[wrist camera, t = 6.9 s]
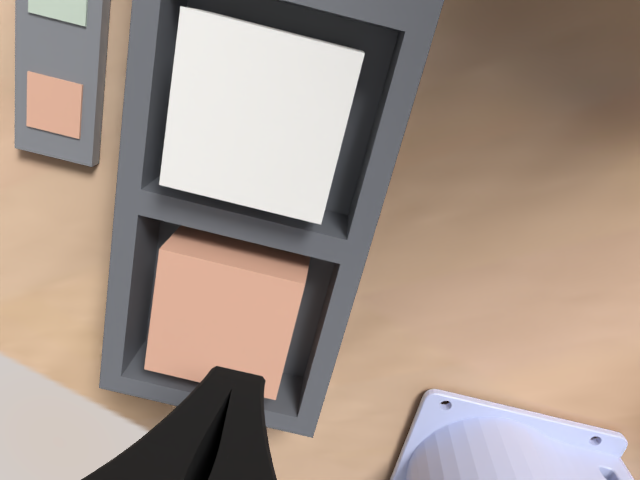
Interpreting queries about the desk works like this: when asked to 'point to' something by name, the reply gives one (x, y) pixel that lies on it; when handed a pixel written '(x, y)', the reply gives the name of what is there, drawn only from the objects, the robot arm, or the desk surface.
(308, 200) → the white key
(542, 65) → the desk surface
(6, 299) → the desk surface
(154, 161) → the grey divided tray
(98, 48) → the card
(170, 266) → the terracotta key
